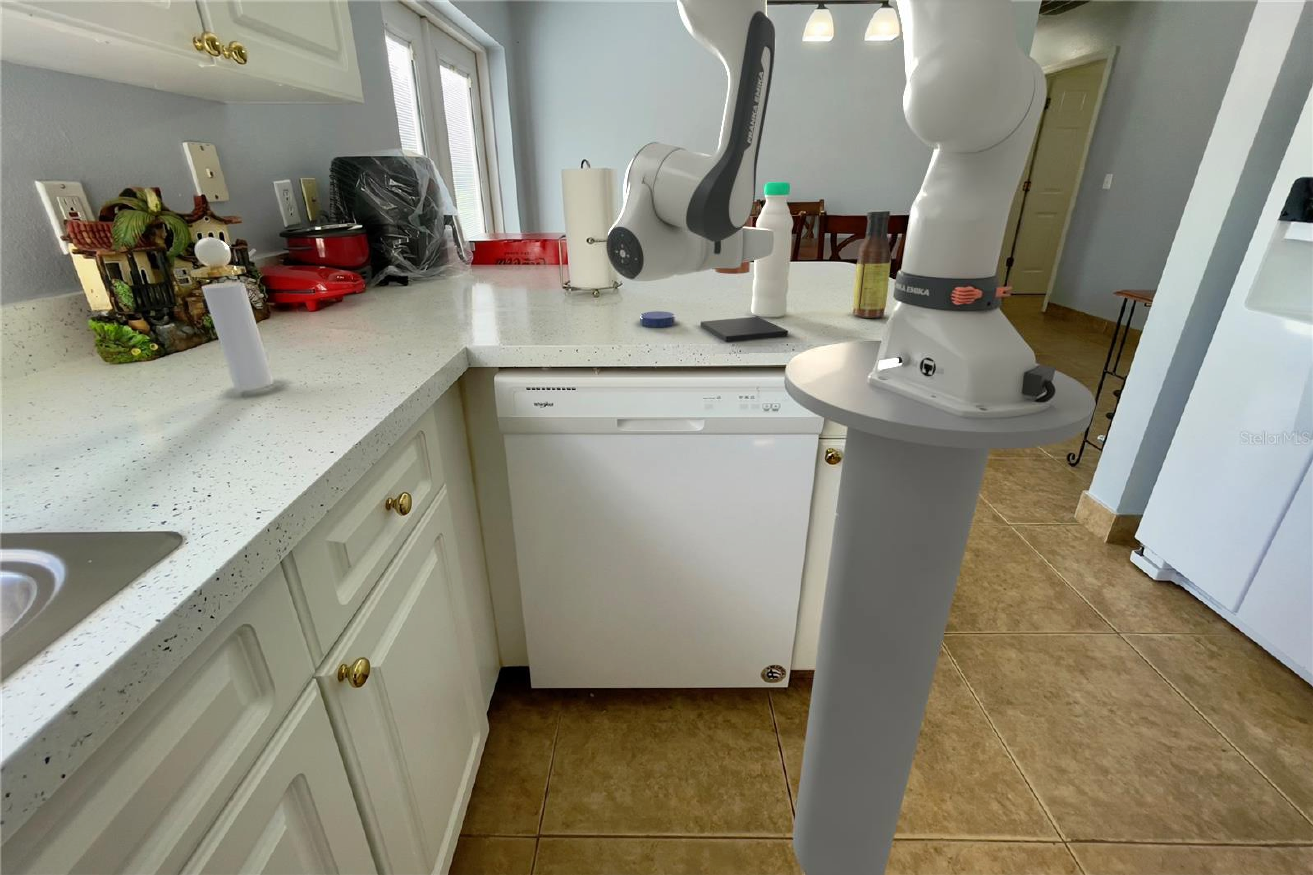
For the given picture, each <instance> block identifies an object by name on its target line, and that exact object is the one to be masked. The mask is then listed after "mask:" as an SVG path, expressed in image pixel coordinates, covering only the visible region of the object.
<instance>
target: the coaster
mask: <svg viewBox="0 0 1313 875" xmlns="http://www.w3.org/2000/svg"><path fill="white" fill-rule="evenodd" d="M700 328H701V329H702V328H703V329H704V330H705V331H707V332H709V333H710V334H712V335H714V336H716V337H717V338H719V339H720V340H722V341H723V342H725V343H731V342H740V341H748V340H750V341H751V340H761V339H771V338H781V337H788V336H789V330H787V329H786V328H784V327H781V326H780V325H777V324H775V323H773V322H771V321H768V320H766V319H763V317H759V316H749V317H736V318H726V319H715V320H714V319H713V320H702V321H700Z"/></svg>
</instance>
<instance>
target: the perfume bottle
mask: <svg viewBox="0 0 1313 875" xmlns="http://www.w3.org/2000/svg"><path fill="white" fill-rule="evenodd" d="M194 255H195V257H196V258H197V260H198V261H199V262H200V263H201V264H202V265H203V267H200V268H197V269H193V270H190V271H189V273H190V275H191V277H193V278H219V277H228V276H235V275H236V276H237V275H242V274H245V273H247V268H246V266H243V265H234V264H230V262H231V259H232V252H231V249H230V247H229V246H228V245H227V244H226V242H224V241H223V240H221V239H219V238H216V237H214V236H213V237H211V236H207V237H203V238H201V239H199V240H198V241H196V243H195V245H194ZM201 290H202V293H203V296H204V298H202V299H201V302H202V305H203V309H204V311H205V314H206V315H208V317H209V320H210V321H211V320H212V323H213V327H214V330H215V333H216V336H217V338H218V341H219V342H218V343H219V345H220V348H221V351H222V354H223V357H224V360H225V363H226V366H227V369H228V373H229V375H230V378H231V382H232V385H233V388H234V389H235V390H237V391H249V390H250V391H251V390H256V389H261V388H264V387H267V386H270V385H272V384H273V383H274V378H273V375H272V372H271V369H270V365H269V362H268V359H267V355H266V352H265V349H264V345H263V342H262V337H261V334H260V331H259V328H258V325H257V322H256V318H255V315H254V311H253V308H252V305H251V301H250V298H249V294H248V291H247V288H246V285H245V282H239V281H236V282H235V281H231V282H217V283H210V284H206V285H202V286H201Z"/></svg>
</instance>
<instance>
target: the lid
mask: <svg viewBox="0 0 1313 875" xmlns="http://www.w3.org/2000/svg"><path fill="white" fill-rule="evenodd" d="M675 319H676V317H675V314H674V313H673V312H669V311H660V310H659V311H658V310H655V311H654V310H653V311H647V312H643V313H641V314H640V318H639V323H640V325H641V326H643V327H647V328H657V329H658V328H668V327H671V326H674V325H675V322H676V320H675Z"/></svg>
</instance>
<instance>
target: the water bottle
mask: <svg viewBox="0 0 1313 875" xmlns="http://www.w3.org/2000/svg"><path fill="white" fill-rule="evenodd" d="M763 192H764V198H765V204H764V205H763V207H762V209H761V210H760V211H761V212H760V214H759V216H758V218H757V220H756V223H755V228H761V229H769V230H772V231H773V234H774V244H773V251H772V253H771V254H770V255H769V256H766V257H763V258H760V259H757V260H754V262H753V275H754V277H753V281H752V299H751V310H750V311H751V313H752V315H754V316H755V317H759V318H780V317H783V316H784V315H786V313H787V308H788V306H787V305H788V302H787V301H788V300H787V295H788V290H789V273H790V266H791V265H790V264H791V254H792V241H793V240H792V237H793V236H792V230H793V227H794V220H793V217H792V214H791V213H790V212H791V211H790V207H789V205H788V202H787V199H788V198H789V195H790V192H791V185H790V183H789V182H788V181H768V182H766V183H765V184H764V188H763Z"/></svg>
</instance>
